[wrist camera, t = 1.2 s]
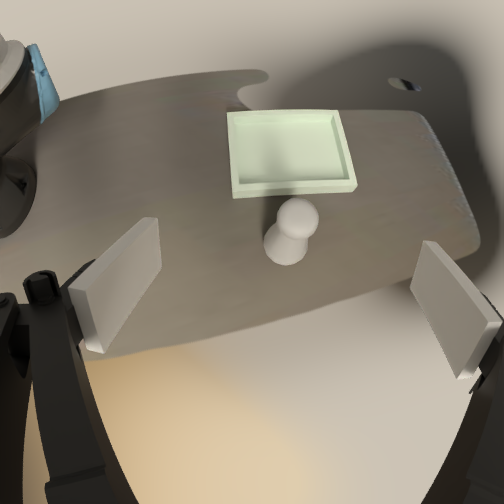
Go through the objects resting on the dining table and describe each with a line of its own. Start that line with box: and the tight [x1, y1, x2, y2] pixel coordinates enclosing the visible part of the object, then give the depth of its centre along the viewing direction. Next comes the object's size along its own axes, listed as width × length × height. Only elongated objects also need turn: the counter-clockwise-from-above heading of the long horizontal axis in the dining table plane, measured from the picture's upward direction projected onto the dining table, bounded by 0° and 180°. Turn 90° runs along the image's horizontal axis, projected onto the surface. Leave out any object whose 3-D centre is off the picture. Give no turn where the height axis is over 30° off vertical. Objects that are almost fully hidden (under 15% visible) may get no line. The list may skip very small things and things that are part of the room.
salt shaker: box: [264, 198, 319, 265], centre depth 37 cm, size 6×6×13 cm
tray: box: [227, 110, 357, 199], centre depth 45 cm, size 18×14×2 cm
